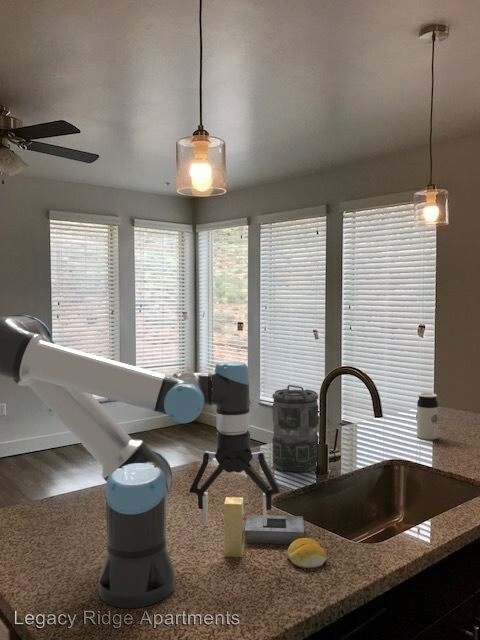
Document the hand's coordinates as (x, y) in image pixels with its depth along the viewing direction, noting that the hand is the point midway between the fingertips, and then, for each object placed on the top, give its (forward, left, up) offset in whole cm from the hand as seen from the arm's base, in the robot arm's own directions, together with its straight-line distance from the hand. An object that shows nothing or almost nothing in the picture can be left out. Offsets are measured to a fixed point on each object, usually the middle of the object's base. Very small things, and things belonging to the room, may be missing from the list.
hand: (235, 523), depth 121 cm
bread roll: (-2, -16, -7) cm, 18 cm away
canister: (+64, -15, -7) cm, 66 cm away
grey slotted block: (+9, -9, -7) cm, 14 cm away
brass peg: (0, 0, -7) cm, 7 cm away
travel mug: (+105, -70, -7) cm, 126 cm away
